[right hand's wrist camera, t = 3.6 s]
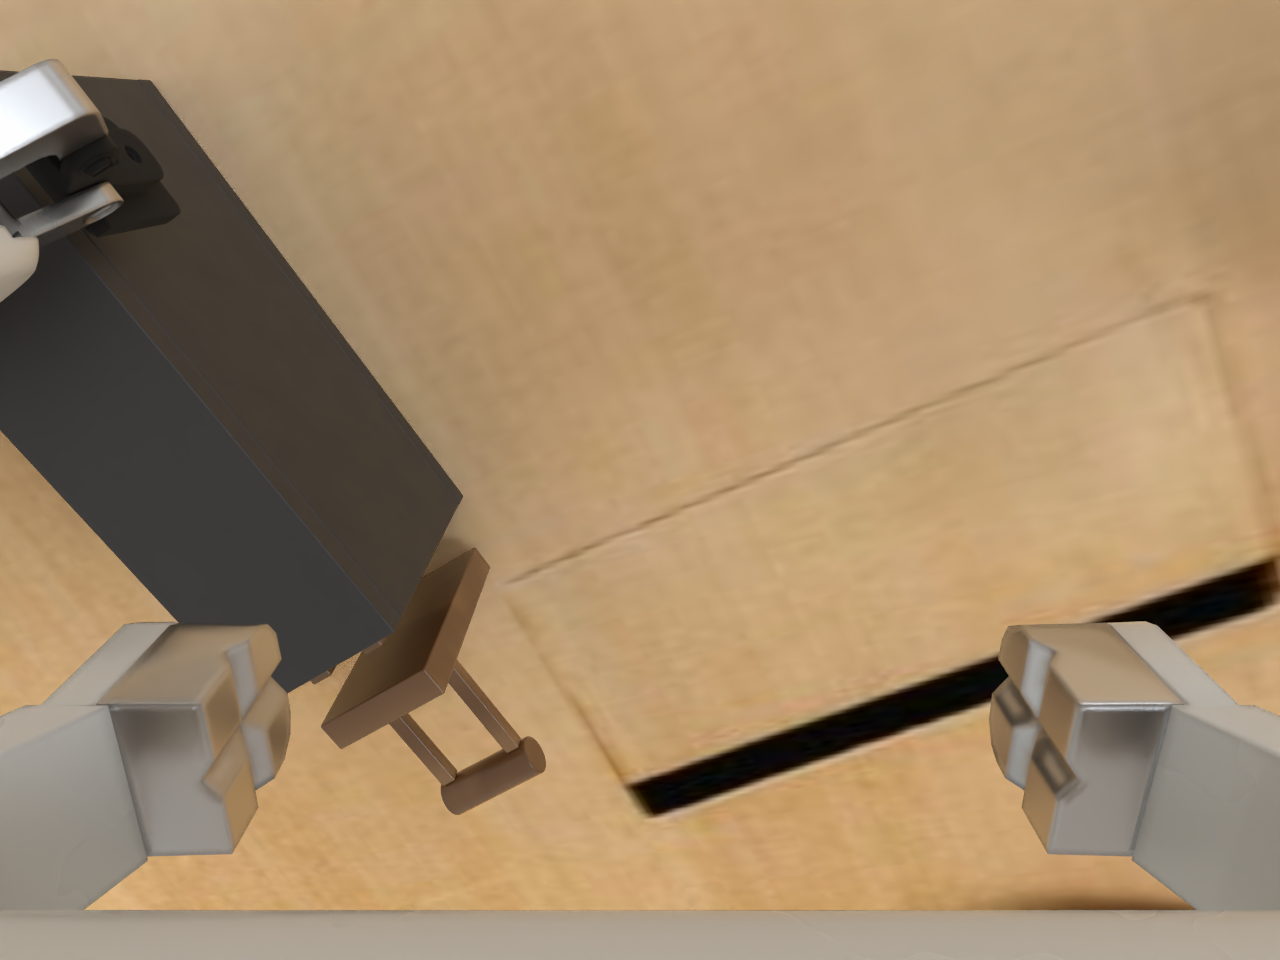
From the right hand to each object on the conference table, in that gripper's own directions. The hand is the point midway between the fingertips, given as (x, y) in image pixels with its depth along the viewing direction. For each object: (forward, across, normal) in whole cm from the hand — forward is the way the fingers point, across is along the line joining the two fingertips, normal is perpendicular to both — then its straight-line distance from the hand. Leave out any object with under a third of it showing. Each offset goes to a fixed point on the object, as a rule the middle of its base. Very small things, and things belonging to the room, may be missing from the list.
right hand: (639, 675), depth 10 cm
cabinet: (+28, +16, +3) cm, 33 cm away
